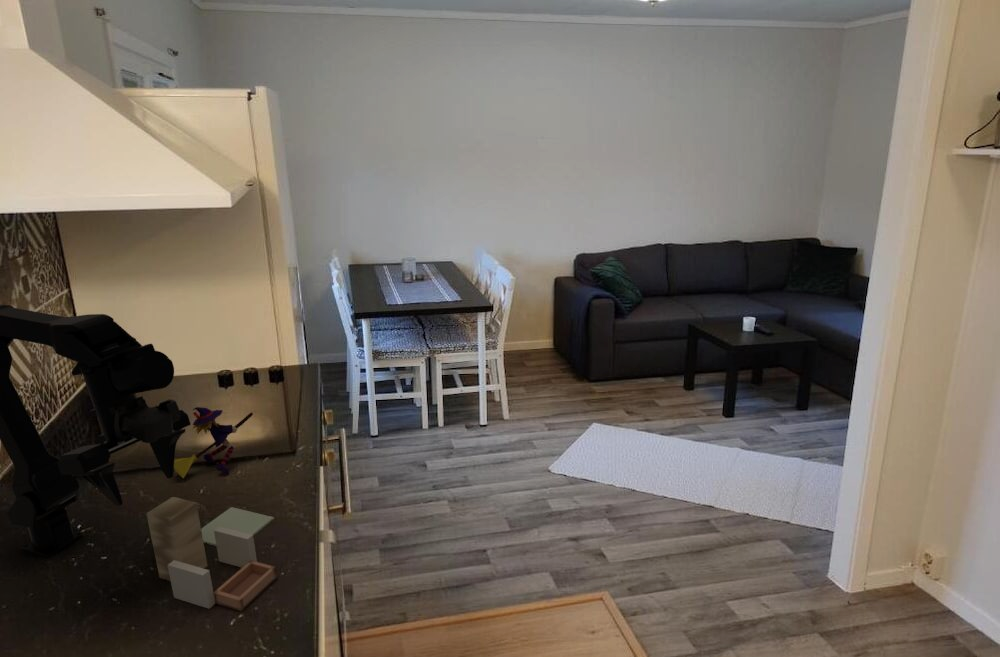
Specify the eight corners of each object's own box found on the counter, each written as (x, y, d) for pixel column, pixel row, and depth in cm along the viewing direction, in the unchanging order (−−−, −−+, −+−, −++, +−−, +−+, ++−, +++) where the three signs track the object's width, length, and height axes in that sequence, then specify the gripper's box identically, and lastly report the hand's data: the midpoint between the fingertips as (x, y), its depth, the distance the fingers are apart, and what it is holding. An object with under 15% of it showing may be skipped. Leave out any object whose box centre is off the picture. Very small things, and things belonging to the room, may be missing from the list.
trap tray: (215, 603, 95) (213, 592, 94) (252, 570, 102) (250, 560, 102) (241, 611, 93) (239, 600, 93) (277, 577, 100) (275, 567, 100)
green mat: (189, 539, 110) (189, 537, 110) (231, 508, 119) (231, 507, 119) (234, 551, 107) (234, 549, 107) (274, 519, 116) (273, 517, 116)
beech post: (159, 577, 101) (146, 513, 97) (184, 559, 105) (172, 496, 102) (183, 585, 99) (170, 519, 96) (207, 565, 104) (196, 502, 100)
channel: (174, 597, 96) (167, 564, 95) (224, 556, 106) (219, 526, 104) (209, 608, 94) (203, 575, 92) (257, 566, 103) (252, 534, 101)
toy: (274, 442, 135) (232, 389, 129) (194, 499, 129) (146, 446, 123) (268, 430, 142) (228, 379, 135) (192, 484, 136) (146, 433, 130)
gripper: (90, 413, 84) (127, 519, 86) (199, 372, 101) (228, 462, 103) (39, 421, 88) (75, 522, 91) (152, 380, 105) (180, 466, 108)
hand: (145, 491), depth 98 cm, fingers open, 9 cm apart
